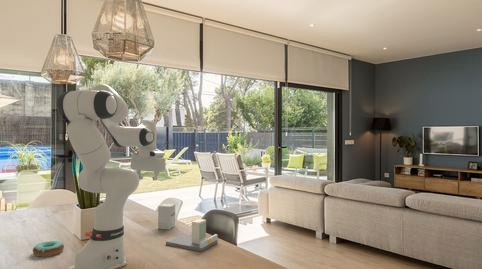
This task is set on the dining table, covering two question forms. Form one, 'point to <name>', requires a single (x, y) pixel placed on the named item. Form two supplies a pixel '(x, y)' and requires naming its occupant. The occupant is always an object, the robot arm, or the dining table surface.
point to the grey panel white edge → (186, 242)
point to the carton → (198, 231)
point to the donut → (48, 248)
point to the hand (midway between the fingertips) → (147, 179)
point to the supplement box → (166, 216)
